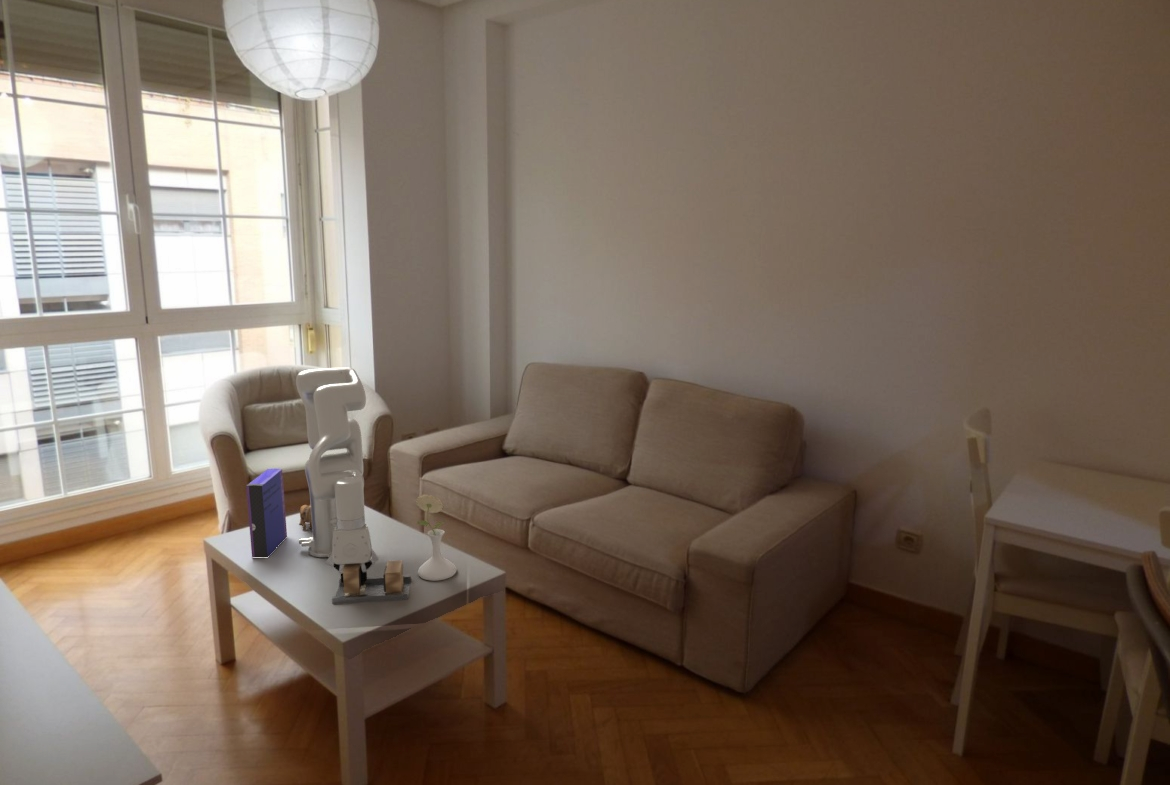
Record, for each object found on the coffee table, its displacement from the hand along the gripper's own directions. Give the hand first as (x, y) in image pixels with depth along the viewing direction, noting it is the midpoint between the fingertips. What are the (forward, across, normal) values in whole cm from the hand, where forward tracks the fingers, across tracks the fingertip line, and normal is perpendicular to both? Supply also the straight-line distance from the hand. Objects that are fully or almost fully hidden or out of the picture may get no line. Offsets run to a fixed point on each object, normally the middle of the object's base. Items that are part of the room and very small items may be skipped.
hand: (354, 583), depth 210 cm
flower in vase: (+4, +22, +10) cm, 24 cm away
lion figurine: (+4, -24, +57) cm, 62 cm away
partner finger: (+3, +11, 0) cm, 11 cm away
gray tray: (+4, +5, 0) cm, 6 cm away
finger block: (+1, 0, 0) cm, 1 cm away
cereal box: (+4, -32, +39) cm, 51 cm away
